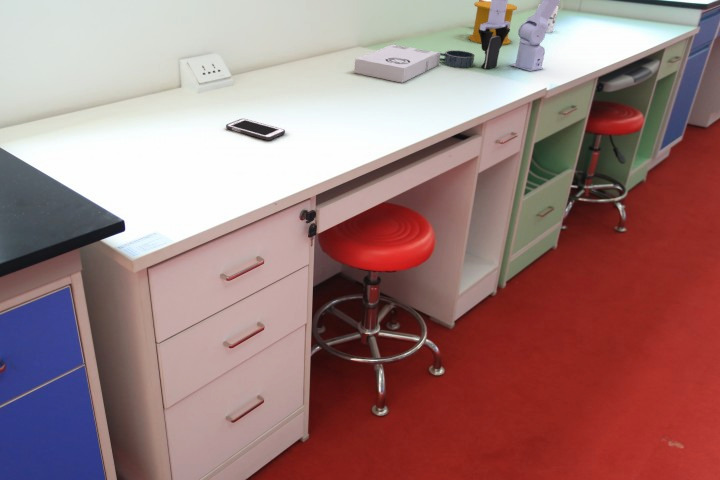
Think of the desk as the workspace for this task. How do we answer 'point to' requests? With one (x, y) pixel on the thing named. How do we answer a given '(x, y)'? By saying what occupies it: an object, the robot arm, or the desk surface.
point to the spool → (483, 16)
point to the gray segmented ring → (458, 58)
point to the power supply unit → (396, 63)
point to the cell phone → (255, 129)
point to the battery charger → (492, 52)
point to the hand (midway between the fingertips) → (491, 48)
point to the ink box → (551, 20)
